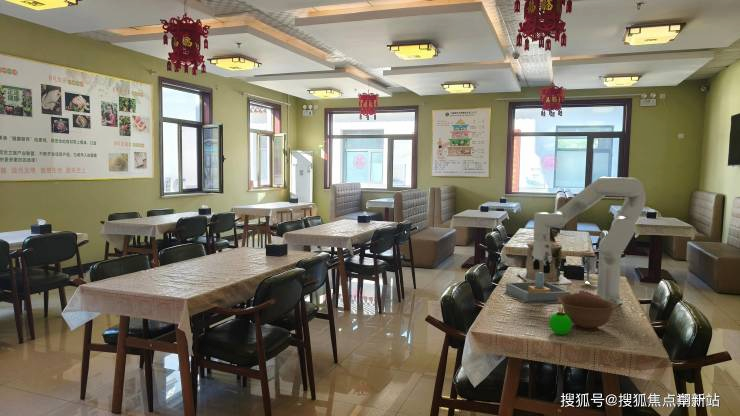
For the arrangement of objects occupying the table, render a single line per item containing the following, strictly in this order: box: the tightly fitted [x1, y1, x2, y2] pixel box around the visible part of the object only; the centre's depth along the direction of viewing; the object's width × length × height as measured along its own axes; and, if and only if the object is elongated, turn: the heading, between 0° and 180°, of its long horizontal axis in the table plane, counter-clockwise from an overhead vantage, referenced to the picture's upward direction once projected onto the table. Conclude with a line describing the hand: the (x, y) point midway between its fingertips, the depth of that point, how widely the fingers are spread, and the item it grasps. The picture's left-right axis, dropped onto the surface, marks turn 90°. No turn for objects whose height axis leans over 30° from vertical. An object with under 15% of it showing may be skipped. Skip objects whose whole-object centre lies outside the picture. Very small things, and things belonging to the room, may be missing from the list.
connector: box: [535, 272, 544, 289], centre depth 249 cm, size 4×4×10 cm
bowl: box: [558, 293, 619, 332], centre depth 197 cm, size 22×22×11 cm
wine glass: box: [580, 254, 598, 285], centre depth 278 cm, size 8×8×15 cm
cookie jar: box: [516, 227, 572, 286], centre depth 284 cm, size 25×25×32 cm
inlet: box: [528, 286, 550, 293], centre depth 249 cm, size 8×8×2 cm
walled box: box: [505, 281, 571, 304], centre depth 246 cm, size 22×22×4 cm
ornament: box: [548, 307, 573, 336], centre depth 188 cm, size 8×8×10 cm
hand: (541, 271), depth 248 cm, fingers open, 9 cm apart
